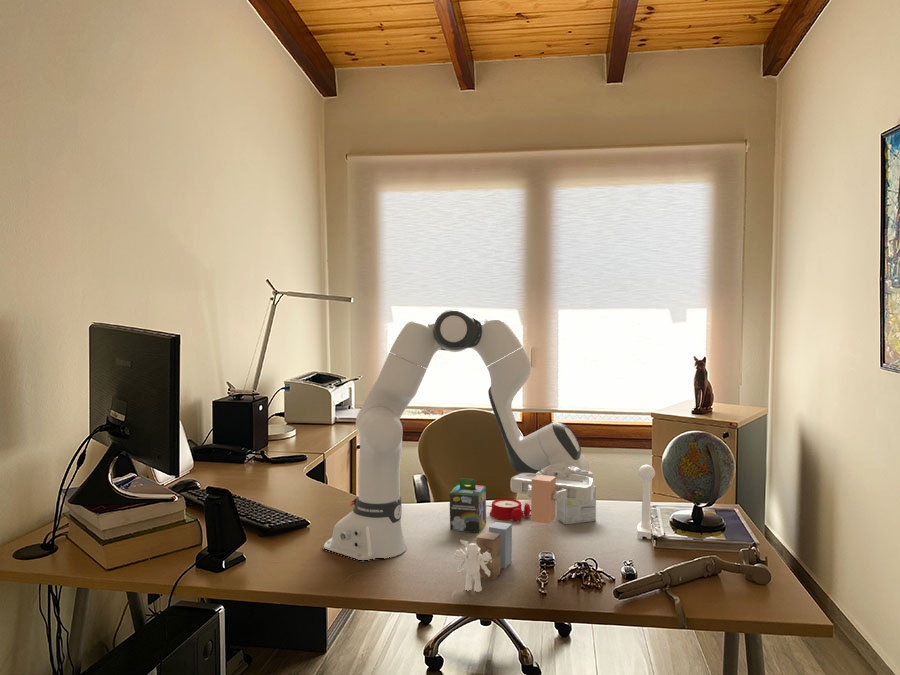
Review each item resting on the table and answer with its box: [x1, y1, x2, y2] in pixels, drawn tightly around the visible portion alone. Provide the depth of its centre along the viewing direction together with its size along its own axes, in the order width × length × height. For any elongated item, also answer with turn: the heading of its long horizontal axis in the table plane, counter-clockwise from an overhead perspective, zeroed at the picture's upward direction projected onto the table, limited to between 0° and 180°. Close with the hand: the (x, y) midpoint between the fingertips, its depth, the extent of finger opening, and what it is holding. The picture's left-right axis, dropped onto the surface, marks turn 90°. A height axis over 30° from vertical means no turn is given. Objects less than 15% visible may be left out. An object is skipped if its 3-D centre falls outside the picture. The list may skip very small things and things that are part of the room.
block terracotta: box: [530, 475, 557, 525], centre depth 164 cm, size 4×4×10 cm
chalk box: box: [448, 477, 487, 534], centre depth 206 cm, size 9×9×15 cm
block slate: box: [488, 521, 513, 569], centre depth 178 cm, size 4×4×10 cm
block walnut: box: [475, 530, 501, 581], centre depth 171 cm, size 4×4×10 cm
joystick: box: [636, 464, 656, 540], centre depth 199 cm, size 11×8×20 cm
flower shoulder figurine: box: [453, 539, 492, 593], centre depth 163 cm, size 9×4×12 cm, turn 73°
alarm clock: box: [488, 498, 531, 523], centre depth 216 cm, size 10×6×15 cm
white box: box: [555, 485, 597, 526], centre depth 212 cm, size 11×7×11 cm, turn 108°
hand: (542, 495), depth 163 cm, fingers closed on block terracotta, 4 cm apart
